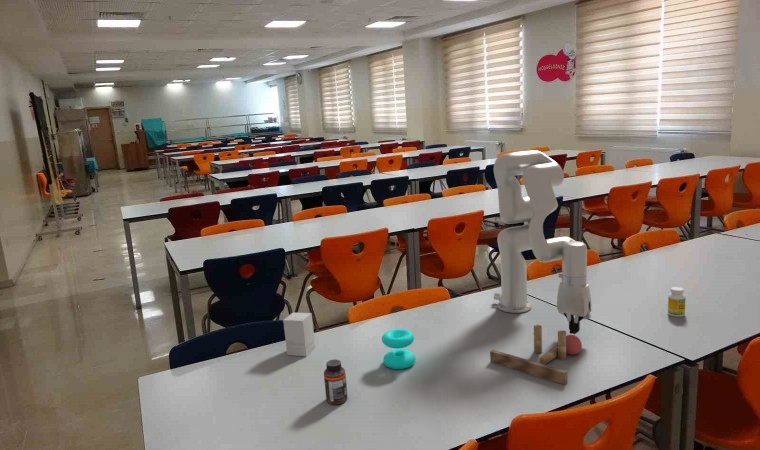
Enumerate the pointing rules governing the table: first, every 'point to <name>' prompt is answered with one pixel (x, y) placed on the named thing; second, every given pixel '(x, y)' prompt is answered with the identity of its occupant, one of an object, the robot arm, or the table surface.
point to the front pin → (549, 356)
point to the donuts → (398, 356)
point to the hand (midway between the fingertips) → (574, 332)
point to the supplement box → (299, 334)
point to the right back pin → (562, 345)
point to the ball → (573, 344)
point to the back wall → (529, 367)
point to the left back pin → (537, 338)
